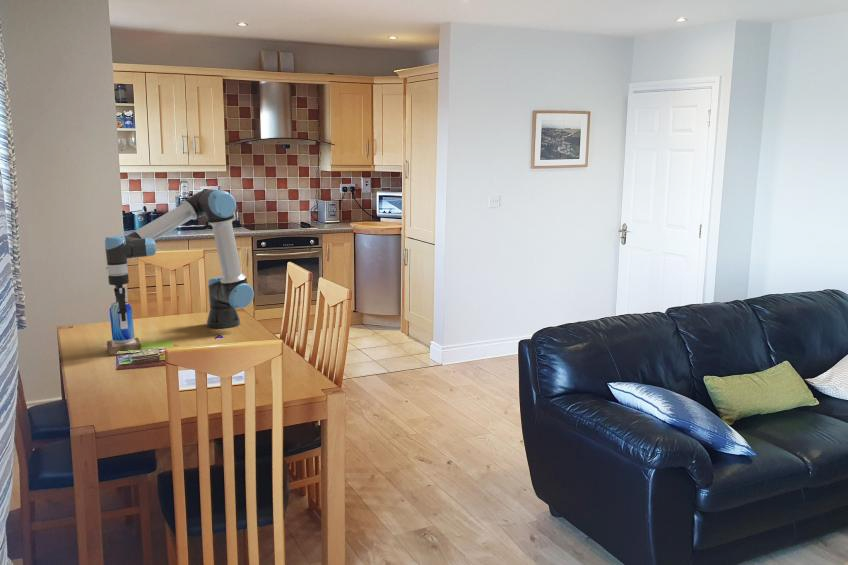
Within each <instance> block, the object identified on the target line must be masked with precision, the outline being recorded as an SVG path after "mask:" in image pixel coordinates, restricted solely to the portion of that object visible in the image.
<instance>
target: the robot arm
mask: <svg viewBox="0 0 848 565" xmlns="http://www.w3.org/2000/svg"><path fill="white" fill-rule="evenodd" d="M236 209H237V202H236V199H235V197H234V196H233V195H232V194H231V193H230V192H229V191H227V190H223V189H203V190H200V191H198V192H197V193H195V194H192V195H191V196H190V197H188V198H186V199H184V200H182V203H181V204H180V205H179V206H177V207H175V208H173V209H172V210H170V211H168V212H166V213H165V214H163V215H161V216H159V217H158V218H156V219H153V220H152V221H151V222H149V223H147V224H145V225H144V226H141V227H140V228H138V229H136V230H134V231H133V232H131V233H129V234H127V235H110V236H106V237H105V240H104V246H105V247H104V250H105V256H106V264H107V265H106V267H105V270H107V274H108V276H107V279H108V284H109V285H110V286H114V288H113V292H114V296H115V302H118V304H119V311H118V314H119V316H120V327H121V329H128V322H127V313H126V312H127V310H126V302H127V301H126V288H125V287H124V286H123V285H127V284H129V282H130V280H129V274H128V273H129V268H128V259H134V258H144V257H146V258H147V257H152V256H154V255H156V252H157V244H156V240H158V239H159V238H162V237H163V236H165V235H167V234H168V233H171V232H172V231H173V230H175V229H176V228H178V227H180V226H182V225H184V224H186V223H188V222H189V221H191V220H194V221H195V220H197V219H198V218H201V217H206V221H207V223H208V224H209V225H211V226H212V231H213V236H214V242H215V245H216V250H217V255H218V259H219V264H220V270H221V273H222V276H217V277H212V278H209V279H208V286H207V287H208V297H209V298H208V299H209V312H208V316H207V319H206V326H207V327H208V328H212V329H227V328H233V327H237V326H239V325H240V324H241V319H240V316H239V314H238V311H237V309H244V308H247V307H248V306H250V304H251V303H252V301H253V299H254V296H255V293H254V292H255V291H254V289H253V287H252V286H251V285H250V284H249V283H248V279H247V276H246V275H245V274H244V273H243V271H242V266H241V262H240V257H239V253H238V247H237V242H236V238H235V233H234V227H233V221H234V220H235V215H234V213H235V211H236Z"/></svg>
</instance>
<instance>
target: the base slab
mask: <svg viewBox="0 0 848 565" xmlns="http://www.w3.org/2000/svg"><path fill="white" fill-rule="evenodd" d="M106 345H107V352H108V355H109V357H115V356H117V355H116V353H117V352H118V351H128V350H140V349H141V350H142V345H141V342H140V340H139V338H138V337H134V338H133V341H131V342H128V343H115V342H114V341H113V340H112V339H111V340H107V341H106Z"/></svg>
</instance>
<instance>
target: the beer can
mask: <svg viewBox="0 0 848 565" xmlns="http://www.w3.org/2000/svg"><path fill="white" fill-rule="evenodd" d="M125 302H126V310H127V312H126V313H127V322H128V329H121V327H120V316H119V314H118V311H119V304H118V302H116V301H115V302H112V303H111V306H110V308H109V320H110V329H111V330H110V331H111V340H113V341H114V342H115V343H128V342H131V341H133V338H135V328H134V318H133V307H132V306H131V305H130V303H129V301H125Z"/></svg>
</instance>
